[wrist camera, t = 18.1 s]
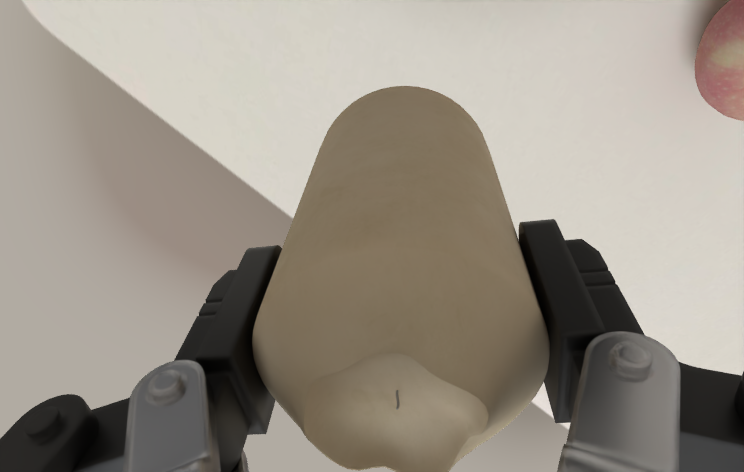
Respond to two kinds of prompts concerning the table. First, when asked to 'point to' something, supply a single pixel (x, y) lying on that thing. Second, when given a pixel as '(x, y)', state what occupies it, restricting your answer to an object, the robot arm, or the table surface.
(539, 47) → the table surface
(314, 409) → the candle
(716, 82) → the apple
